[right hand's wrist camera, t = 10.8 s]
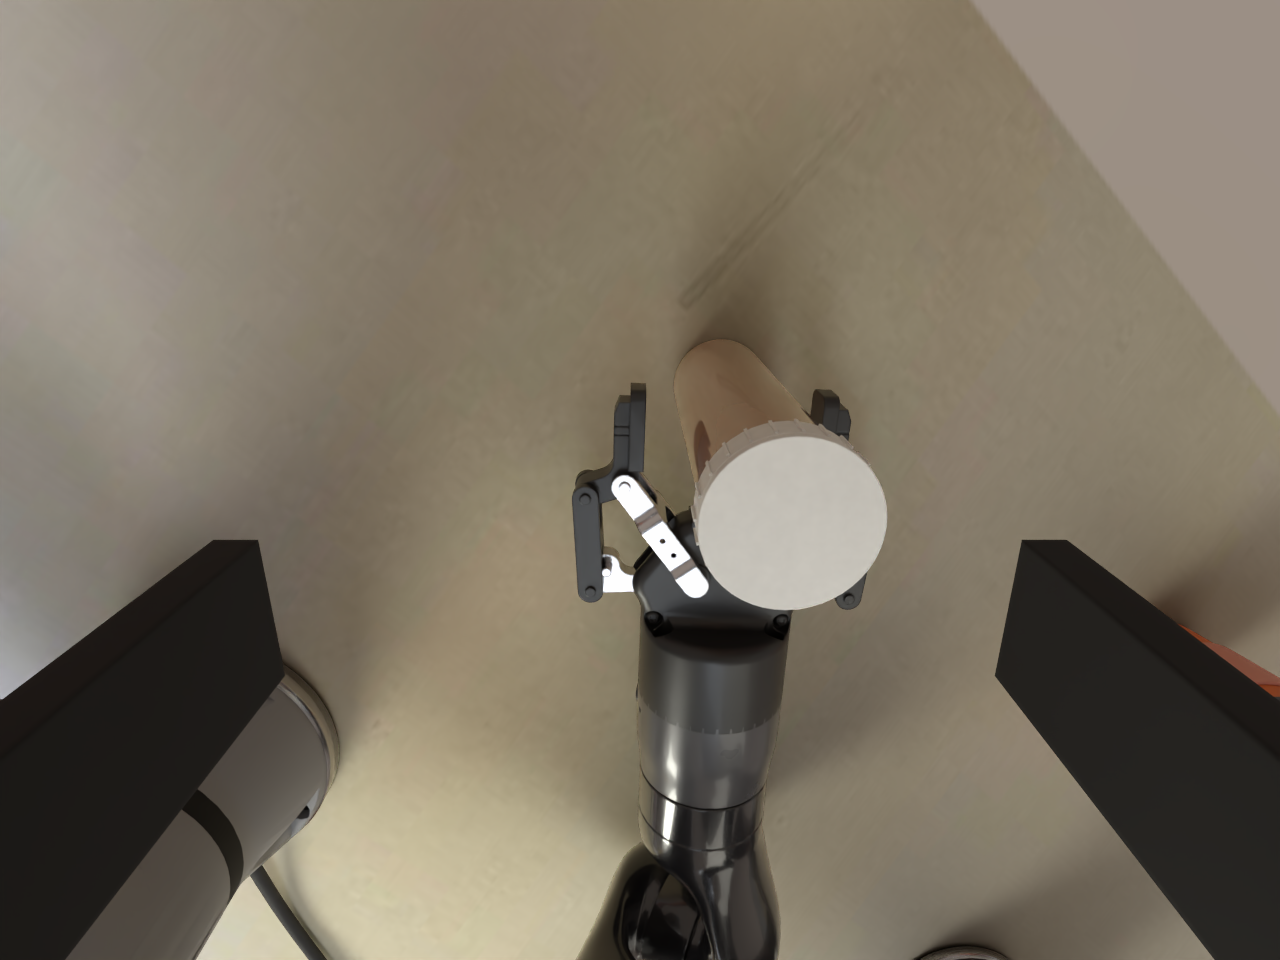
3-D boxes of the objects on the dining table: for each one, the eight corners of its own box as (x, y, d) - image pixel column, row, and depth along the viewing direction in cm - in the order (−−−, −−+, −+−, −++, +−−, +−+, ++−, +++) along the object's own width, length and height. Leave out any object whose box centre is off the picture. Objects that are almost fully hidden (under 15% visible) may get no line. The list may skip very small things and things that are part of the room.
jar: (685, 439, 40) (726, 611, 22) (663, 352, 38) (688, 465, 21) (773, 416, 39) (884, 573, 22) (754, 328, 38) (858, 421, 20)
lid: (713, 604, 24) (719, 631, 22) (670, 444, 22) (673, 462, 20) (884, 563, 23) (902, 587, 22) (855, 396, 21) (873, 410, 20)
